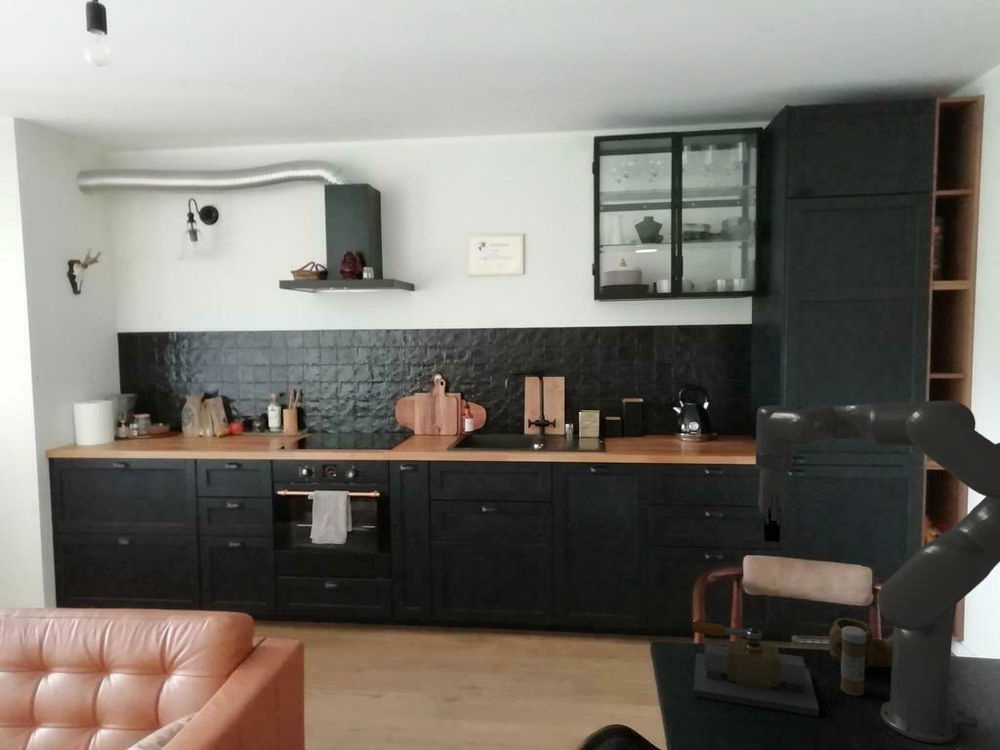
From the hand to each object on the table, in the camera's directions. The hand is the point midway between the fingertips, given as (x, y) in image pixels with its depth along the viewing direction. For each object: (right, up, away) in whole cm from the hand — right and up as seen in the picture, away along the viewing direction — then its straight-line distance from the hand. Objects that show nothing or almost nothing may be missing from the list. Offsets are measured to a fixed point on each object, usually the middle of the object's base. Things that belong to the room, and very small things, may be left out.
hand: (771, 540), depth 150 cm
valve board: (-7, -30, -7) cm, 31 cm away
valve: (-7, -28, -7) cm, 30 cm away
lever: (-12, -19, -6) cm, 23 cm away
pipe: (+22, -29, 0) cm, 36 cm away
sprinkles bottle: (+13, -30, -9) cm, 34 cm away
